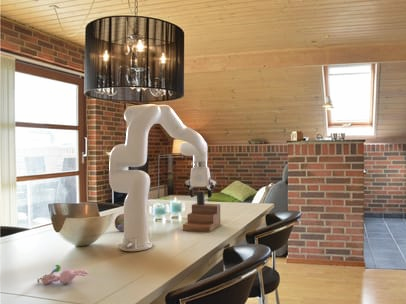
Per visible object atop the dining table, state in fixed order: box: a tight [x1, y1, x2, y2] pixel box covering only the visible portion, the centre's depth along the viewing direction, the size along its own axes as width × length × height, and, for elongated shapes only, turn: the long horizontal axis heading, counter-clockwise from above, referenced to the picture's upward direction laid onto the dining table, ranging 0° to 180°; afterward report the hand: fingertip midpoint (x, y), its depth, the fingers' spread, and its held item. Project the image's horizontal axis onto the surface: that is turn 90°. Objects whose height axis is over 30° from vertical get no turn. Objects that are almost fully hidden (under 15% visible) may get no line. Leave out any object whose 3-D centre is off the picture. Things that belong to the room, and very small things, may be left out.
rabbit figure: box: [36, 264, 89, 285], centre depth 104 cm, size 6×6×15 cm
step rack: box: [182, 202, 222, 233], centre depth 177 cm, size 16×14×11 cm
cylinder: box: [196, 190, 206, 205], centre depth 183 cm, size 4×4×7 cm
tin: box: [114, 213, 124, 232], centre depth 175 cm, size 15×3×8 cm, turn 143°
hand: (200, 197), depth 183 cm, fingers open, 9 cm apart
